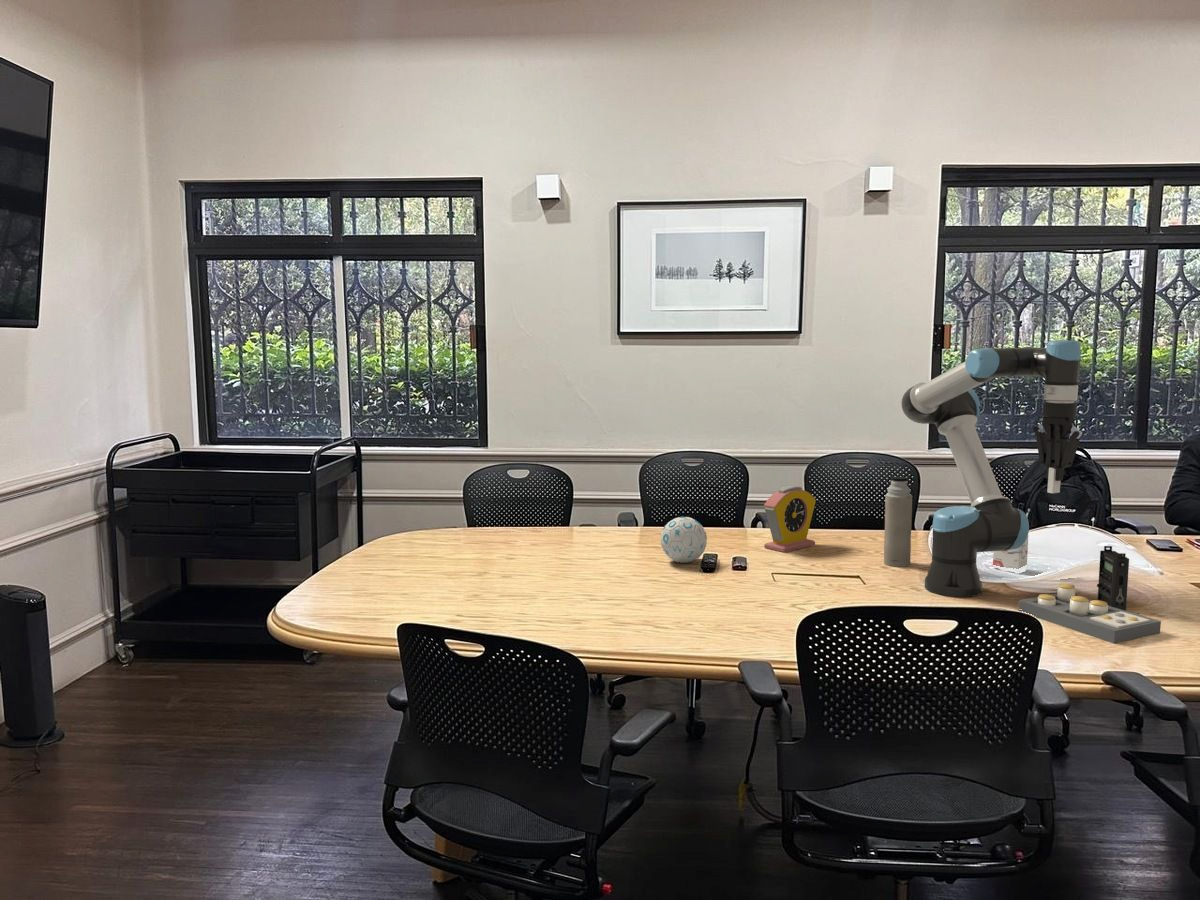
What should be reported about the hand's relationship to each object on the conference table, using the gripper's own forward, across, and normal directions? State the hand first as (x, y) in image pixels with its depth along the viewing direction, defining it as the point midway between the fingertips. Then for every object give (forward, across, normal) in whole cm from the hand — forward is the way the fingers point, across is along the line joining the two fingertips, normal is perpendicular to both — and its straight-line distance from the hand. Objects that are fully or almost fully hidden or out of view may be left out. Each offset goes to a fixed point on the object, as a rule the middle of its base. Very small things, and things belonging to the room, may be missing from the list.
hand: (1053, 492), depth 212 cm
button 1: (+30, +4, -5) cm, 31 cm away
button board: (+31, +12, -1) cm, 33 cm away
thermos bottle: (+33, -52, -2) cm, 61 cm away
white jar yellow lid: (+28, +13, -5) cm, 31 cm away
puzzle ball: (+33, -85, -61) cm, 110 cm away
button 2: (+28, +4, +2) cm, 29 cm away
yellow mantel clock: (+34, -86, -18) cm, 94 cm away
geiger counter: (+31, +6, +17) cm, 36 cm away
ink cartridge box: (+32, -30, +22) cm, 49 cm away
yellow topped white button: (+30, +13, +2) cm, 33 cm away
